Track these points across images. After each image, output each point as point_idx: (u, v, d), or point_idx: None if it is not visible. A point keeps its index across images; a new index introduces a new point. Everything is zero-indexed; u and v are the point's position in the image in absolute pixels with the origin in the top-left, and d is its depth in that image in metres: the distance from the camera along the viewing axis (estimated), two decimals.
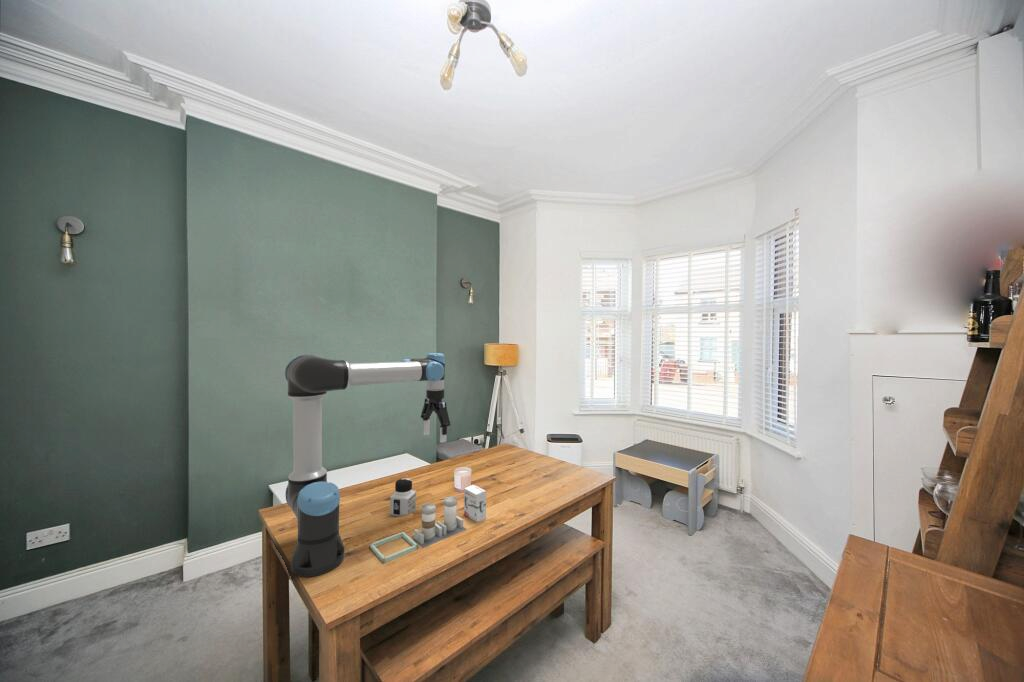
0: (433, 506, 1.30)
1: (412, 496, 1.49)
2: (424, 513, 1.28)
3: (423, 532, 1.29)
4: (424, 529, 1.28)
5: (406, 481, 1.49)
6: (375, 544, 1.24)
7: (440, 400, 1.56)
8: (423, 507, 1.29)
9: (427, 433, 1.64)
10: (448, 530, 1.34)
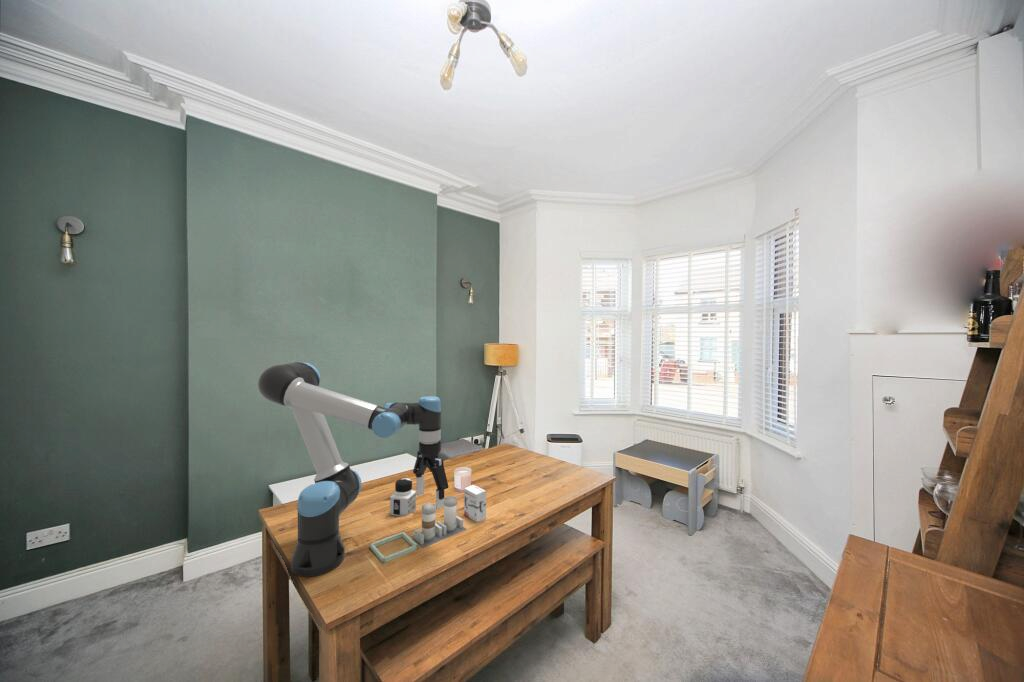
0: (433, 506, 1.30)
1: (412, 496, 1.49)
2: (424, 513, 1.28)
3: (423, 532, 1.29)
4: (424, 529, 1.28)
5: (406, 481, 1.49)
6: (375, 544, 1.24)
7: (436, 455, 1.27)
8: (423, 507, 1.29)
9: (421, 492, 1.35)
10: (448, 530, 1.34)
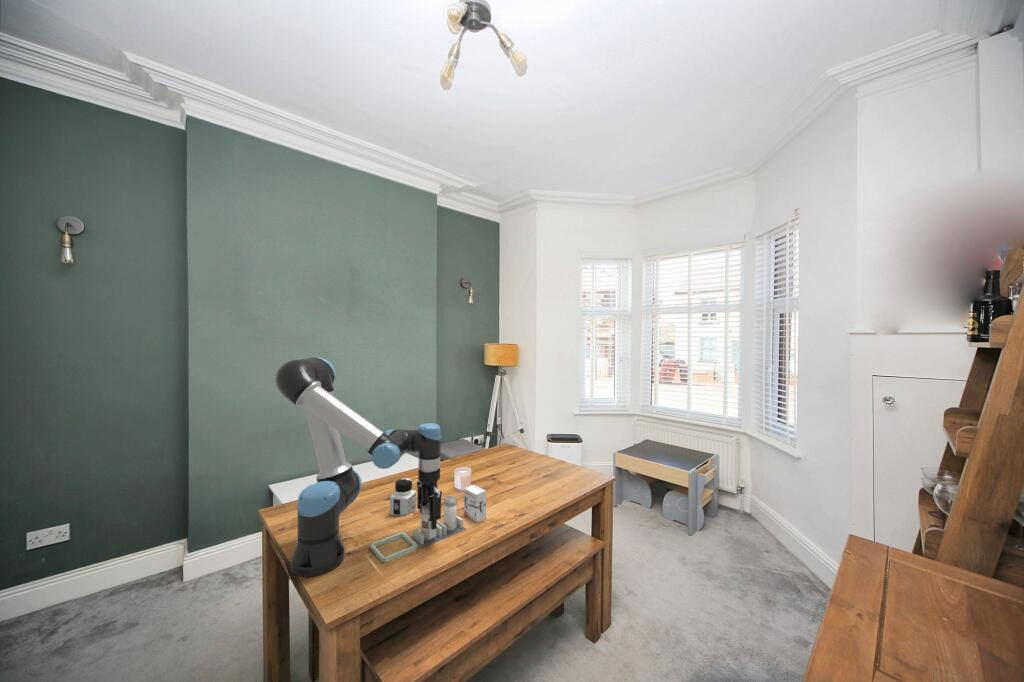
0: None
1: (412, 496, 1.49)
2: (424, 513, 1.28)
3: (423, 532, 1.29)
4: (424, 529, 1.28)
5: (406, 481, 1.49)
6: (375, 544, 1.24)
7: (435, 483, 1.28)
8: (423, 507, 1.29)
9: None
10: (448, 530, 1.34)
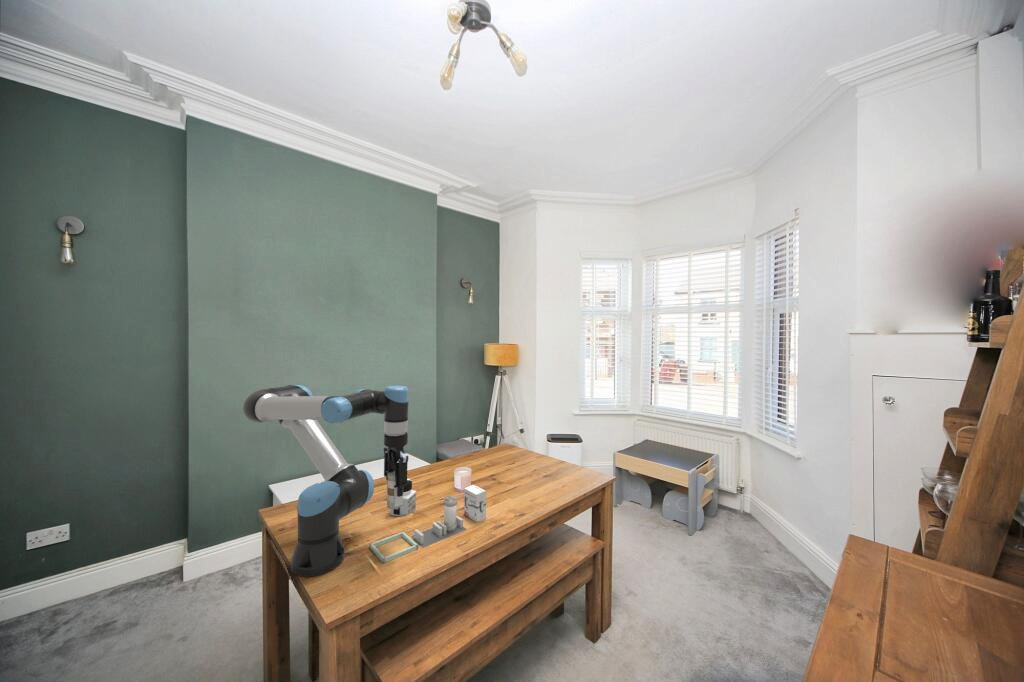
0: None
1: (412, 496, 1.49)
2: (390, 479, 1.21)
3: (389, 500, 1.21)
4: (390, 496, 1.21)
5: None
6: (375, 544, 1.24)
7: (401, 448, 1.20)
8: (389, 473, 1.22)
9: None
10: (448, 530, 1.34)
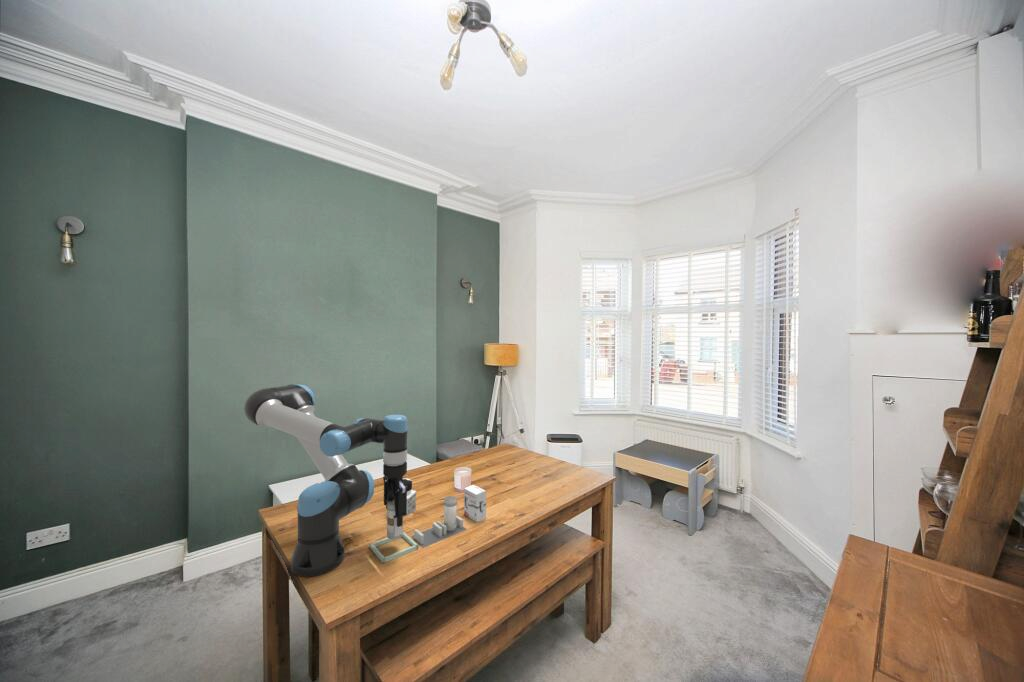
0: None
1: (412, 496, 1.49)
2: (389, 509, 1.21)
3: (388, 529, 1.22)
4: (389, 526, 1.21)
5: (406, 481, 1.49)
6: (375, 544, 1.24)
7: (400, 478, 1.20)
8: (389, 503, 1.22)
9: None
10: (448, 530, 1.34)
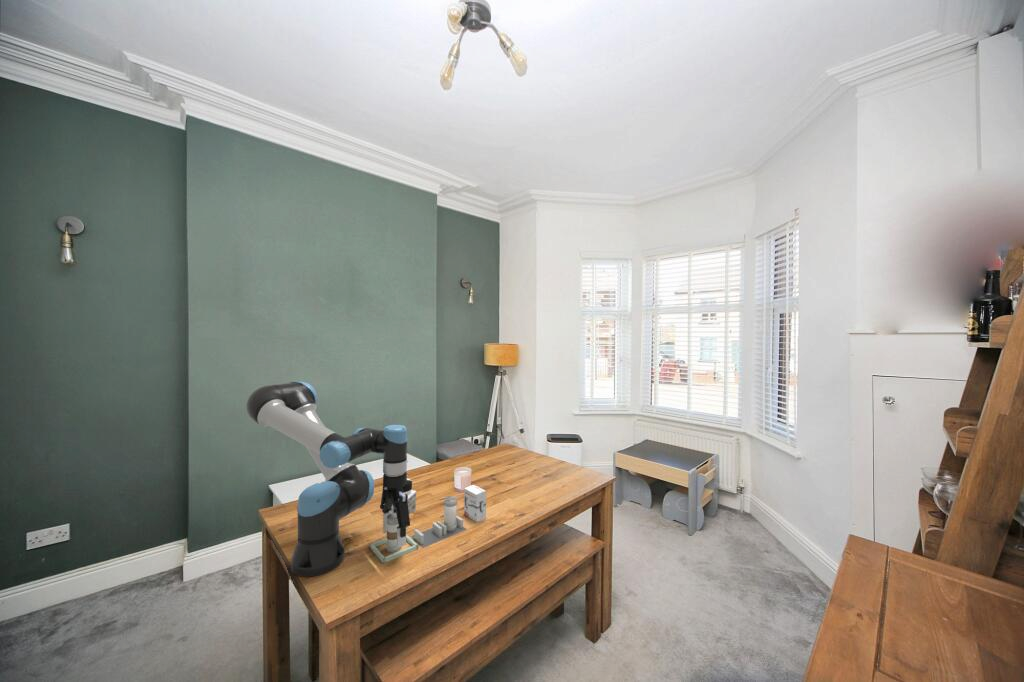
0: None
1: (412, 496, 1.49)
2: (389, 523, 1.21)
3: (388, 543, 1.22)
4: (389, 540, 1.21)
5: None
6: (375, 544, 1.24)
7: (400, 488, 1.21)
8: (388, 517, 1.23)
9: None
10: (448, 530, 1.34)
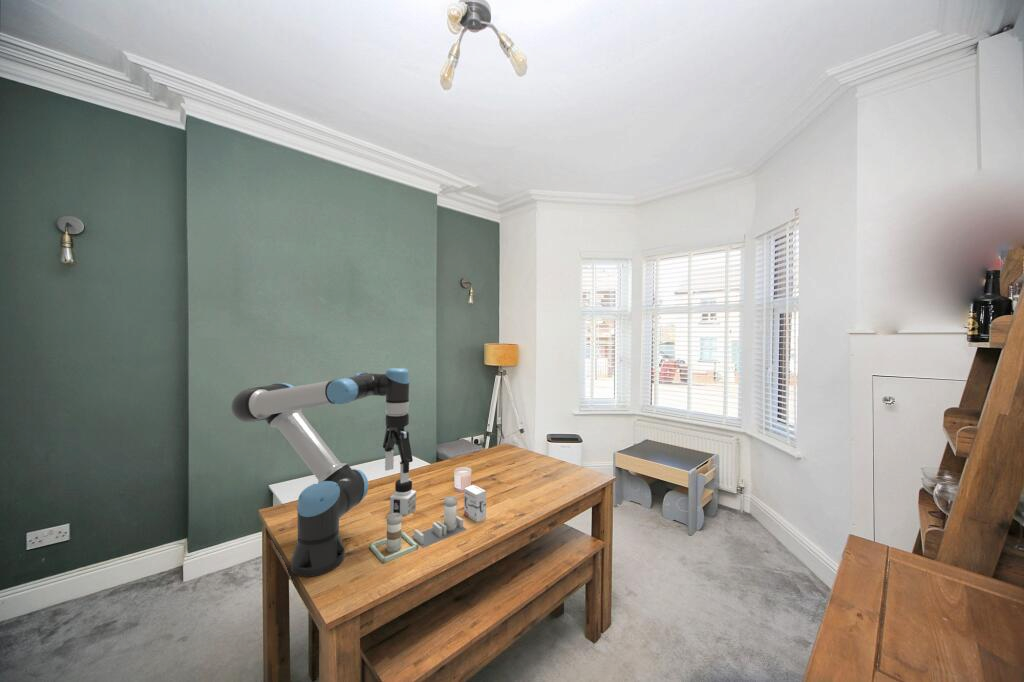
0: (399, 516, 1.23)
1: (412, 496, 1.49)
2: (389, 523, 1.21)
3: (388, 543, 1.22)
4: (389, 540, 1.21)
5: None
6: (375, 544, 1.24)
7: (402, 428, 1.23)
8: (388, 517, 1.23)
9: (390, 467, 1.32)
10: (448, 530, 1.34)
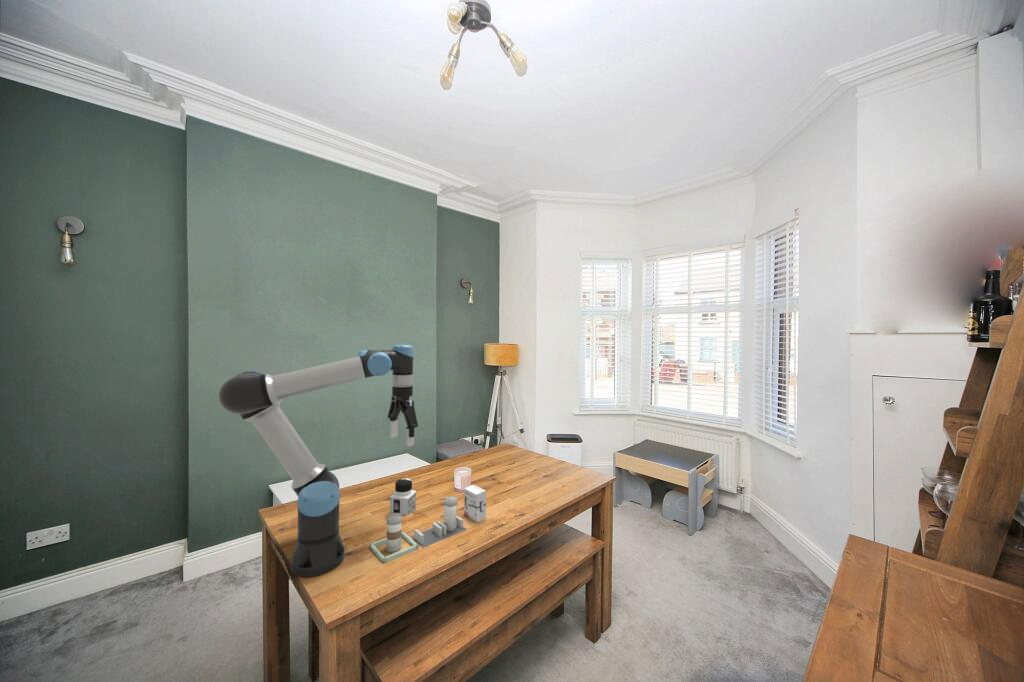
0: (399, 516, 1.23)
1: (412, 496, 1.49)
2: (389, 523, 1.21)
3: (388, 543, 1.22)
4: (389, 540, 1.21)
5: (406, 481, 1.49)
6: (375, 544, 1.24)
7: (407, 398, 1.37)
8: (388, 517, 1.22)
9: (395, 435, 1.45)
10: (448, 530, 1.34)
